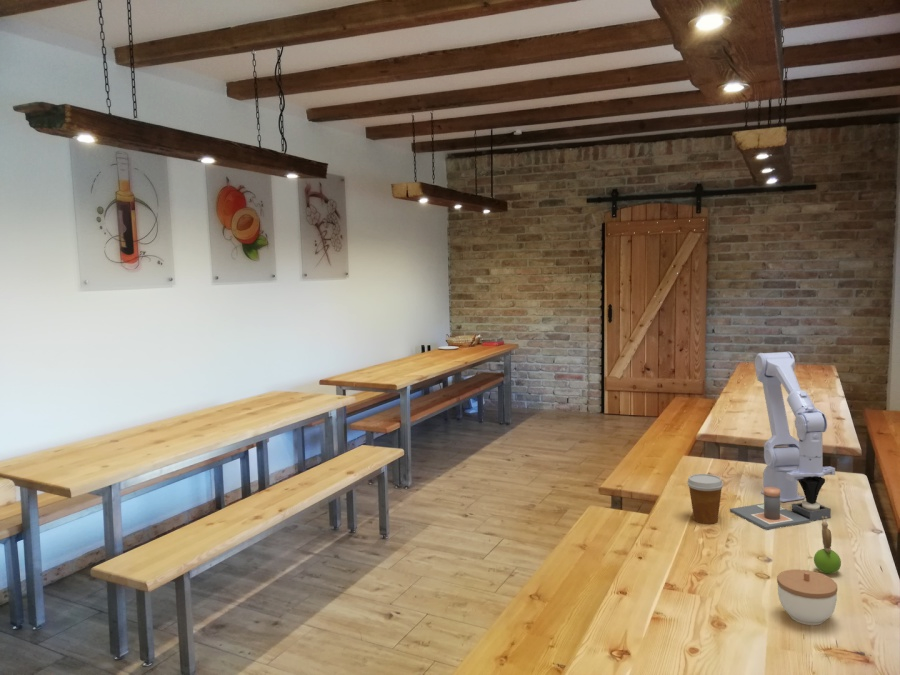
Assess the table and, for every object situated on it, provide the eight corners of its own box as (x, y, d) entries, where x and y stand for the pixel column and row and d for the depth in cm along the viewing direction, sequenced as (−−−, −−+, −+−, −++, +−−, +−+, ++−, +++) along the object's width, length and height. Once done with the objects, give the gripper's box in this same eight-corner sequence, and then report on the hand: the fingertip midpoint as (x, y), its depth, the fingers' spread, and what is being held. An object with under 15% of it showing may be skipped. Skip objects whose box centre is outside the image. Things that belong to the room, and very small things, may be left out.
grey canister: (760, 515, 187) (760, 488, 186) (772, 513, 188) (772, 485, 187) (771, 521, 183) (771, 492, 182) (784, 518, 184) (783, 490, 183)
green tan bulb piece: (837, 566, 157) (837, 516, 155) (843, 578, 151) (843, 527, 149) (811, 564, 158) (811, 515, 157) (816, 576, 152) (816, 525, 151)
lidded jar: (811, 637, 128) (811, 590, 128) (765, 612, 138) (765, 568, 137) (849, 622, 133) (850, 577, 132) (802, 599, 142) (802, 557, 142)
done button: (798, 507, 189) (798, 501, 189) (811, 505, 190) (811, 499, 190) (810, 512, 185) (810, 506, 185) (823, 510, 186) (823, 504, 186)
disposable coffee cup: (687, 524, 186) (686, 482, 185) (688, 512, 195) (687, 472, 194) (724, 527, 183) (723, 485, 181) (724, 515, 191) (723, 474, 190)
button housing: (791, 513, 190) (791, 504, 190) (811, 509, 192) (811, 501, 192) (810, 521, 184) (810, 512, 183) (830, 518, 185) (830, 508, 185)
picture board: (729, 511, 194) (729, 508, 194) (771, 504, 197) (771, 501, 197) (765, 530, 180) (765, 526, 179) (809, 522, 183) (809, 519, 183)
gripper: (799, 461, 180) (799, 510, 182) (844, 455, 184) (844, 503, 185) (780, 455, 187) (781, 502, 189) (824, 449, 191) (824, 495, 192)
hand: (811, 502), depth 187 cm, fingers closed
